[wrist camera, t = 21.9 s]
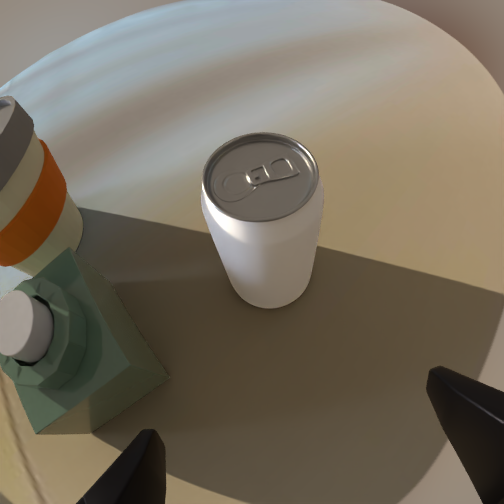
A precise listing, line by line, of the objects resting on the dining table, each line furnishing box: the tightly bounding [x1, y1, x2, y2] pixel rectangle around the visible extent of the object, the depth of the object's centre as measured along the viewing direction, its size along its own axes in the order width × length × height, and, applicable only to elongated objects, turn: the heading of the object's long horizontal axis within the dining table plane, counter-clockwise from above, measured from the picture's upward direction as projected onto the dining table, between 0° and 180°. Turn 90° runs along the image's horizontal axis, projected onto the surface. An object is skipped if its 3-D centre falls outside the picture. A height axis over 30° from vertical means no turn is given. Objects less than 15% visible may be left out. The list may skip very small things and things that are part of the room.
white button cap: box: [0, 290, 54, 363], centre depth 15 cm, size 4×4×2 cm
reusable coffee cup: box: [0, 96, 83, 277], centre depth 23 cm, size 13×13×15 cm
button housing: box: [0, 247, 170, 434], centre depth 20 cm, size 10×9×9 cm
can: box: [201, 132, 324, 308], centre depth 20 cm, size 6×6×12 cm
